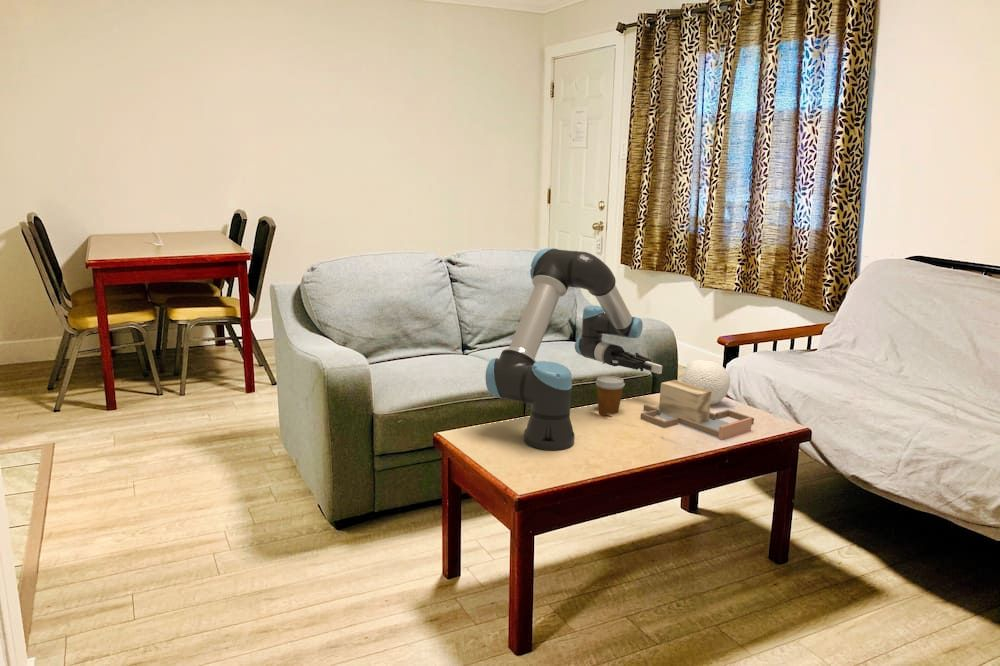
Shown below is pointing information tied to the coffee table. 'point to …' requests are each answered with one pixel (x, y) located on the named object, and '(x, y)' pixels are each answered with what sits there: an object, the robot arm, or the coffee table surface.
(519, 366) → the robot arm
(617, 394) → the disposable coffee cup
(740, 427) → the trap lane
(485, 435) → the coffee table surface
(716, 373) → the decorative orb
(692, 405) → the maple block
